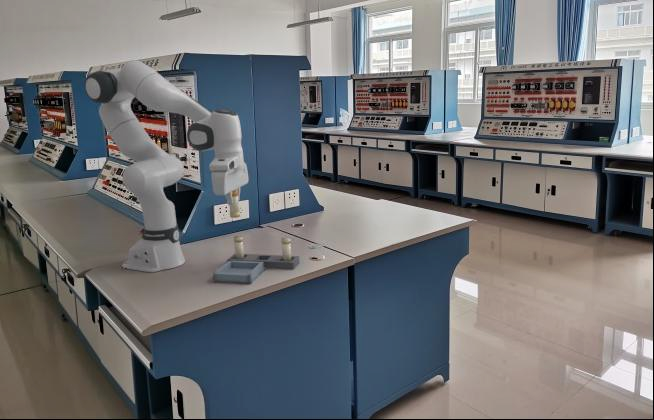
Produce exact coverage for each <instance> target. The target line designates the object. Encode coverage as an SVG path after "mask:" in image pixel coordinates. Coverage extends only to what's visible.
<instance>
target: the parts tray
mask: <svg viewBox="0 0 654 420" xmlns="http://www.w3.org/2000/svg"><path fill="white" fill-rule="evenodd" d="M265 270H266V268H265V266H264V262H252V261H230V260H229V261H228V262H225V263H224V264H223V265H221V267H219V268H218V269H217V270H215V271H214V272H213V273H212V275H213V277H212V278H213V283H221V284H240V285H251V284H253V283H254V282H255V281H256V279H257V278H259V276H261V274H263V273H264V271H265ZM265 272H266V271H265Z"/></svg>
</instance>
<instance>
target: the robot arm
mask: <svg viewBox="0 0 654 420" xmlns="http://www.w3.org/2000/svg"><path fill="white" fill-rule="evenodd" d="M84 90H85V93H86V95H87V97H88V98H89V99H90V100H91V102H94V103H96V104H97V103H98V104H100V106H99V108H98V114H99V117H100V119H101V122H102V124H103V126H104V127H105V129H106V130H105V131H106V132H107V133H108V135H109V136H110V138H111V139H112V141H113V142H114V144H115V145H116V147H117V148H118V150H119V152H120V153H121V154H122V155H123V156H125V157H126V158H129V159H132V160H133V161H134V162H133V163H132V164H131V165H129V166H127V167H126V168H125V169H124V170H123V173H122V176H121V177H122V182H123V185H124V187H125V188H126V189H127V191H129V192H130V193H132V194H133V195H134V196H135V197H136V199H137V201H138V203H139V205H140V209H141V212H142V218H143V224H144V228H142V229H141V230H139V231H138V235H141V234H142V235H141V238H140V239H138V241H137V242H135V243H134V244H133V245H132V246H131V247H130V249H129V250H128V253H127V260H125V261H124V262H123V263H122V267H123V268H122V269H125V268H127V269H128V270H132V271H138V272H139V271H140V272H146V273H155V272H156V273H157V272H159V271H163V270H170V269H174V268H178V267H180V266H182V265H184V263H185V262H186V258H185V256H184V254H183V253H184V252H183V251H182V247H181V243H180V231H179V225H178V223H177V217H176V216H177V215H176V209H175V208H176V207H175V204H174V202H172V200H169V199H168V198H167V197H166V194H165V192H164V188H167V187H169V186H172V185H175V184H176V183H177V182H178V181H180V180H181V179H182V177H183V176H184V165H183V163H182V161H181V160H180V159H179V158H177V157H176V156H173V155H172V154H169V153H168V152H167V151H165V150H164V149H162V147H161V146H159V145H158V144H157V143H156V141H154V140H153V139H152V138H151V136H149V134H148V133H147V131H146V130H145V128H144V127H143V125H142V124H141V123H140V121H139V119H138V118H137V116H136V115H135V114H134V111H133V110H132V107H131V106H132V105H131V104H137V103H138V102H140V103H141V104H142V105H143V106H145V107H147V108H148V109H151V110H152V111H155V112H161V113H162V112H163V113H173V114H179V115H181V116H184V117H187V118H189V119H190V120H191V121H192V122H193V123H191V124H190V125H189V126H188V128H187V131H186V139H187V142H188V144H189V146H190V147H191V148H192V149H193V150H195V151H198V152H207V151H212V150H214V154H215V155H214V158H213V159H212V161H211V162H210V163H209V166H208V167H209V171H212V172H211V174H210V177H211V185H212V191H213V194H214V195H215V196H224V197H225V199H226V202H227V205H228V206H229V205H232V204H234V199H233V198H232V191H233V190H235V189H237V188H238V202H240V194H241V188H242V187H244V186H245V185H247V184H249V173H248V165H247V163H246V162H245V161H244V160H245V159H244V151H243V146H242V137H243V136H242V135H243V134H242V127H241V121H240V118H239V115H238V113H237V112H235V111H233V110H230V109H216V110H213V111H211V110H209V109H208V108H207V107H205V106H204V105H203V104H202V103H200V102H199V101H198V100H196V99H194V98H193V97H191V96H190V95H189V94H187V93H185V92H183V90H181V89H180V88H178V87H177V86H175V85H173V83H170V81H168V80H167V79H166V78H165V77H164V76H162V75H161V74H160V73H159V72H158V71H156V70H155V69H153V68H152V67H150V66H149V65H147V64H146V63H144V62H142V61H140V60H137V59H132V60H129V61H127V62H125V63H124V64H123V65H122V67H115V68H109V69H105V70H104V69H103V70H96V71H94V72H92V73H91V72H90V73H89V74H88V75H87V76H86V77H85V79H84ZM127 269H126V270H127Z"/></svg>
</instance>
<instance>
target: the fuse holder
mask: <svg viewBox="0 0 654 420" xmlns="http://www.w3.org/2000/svg"><path fill="white" fill-rule="evenodd" d="M229 260H230V261H252V262H264V266H265V269H277V270H295V269H296V268H297V267H298V265H299V264H300V255H291V260H292V261H283V254H277V255H276V254H257V253H256V254H255V253H254V254H253V253H244V259H236V256H235V253H233V254H232V255H231V256H230V257H229V258H227V262H228V261H229ZM227 262H226V263H227Z"/></svg>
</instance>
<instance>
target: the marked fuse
mask: <svg viewBox="0 0 654 420" xmlns="http://www.w3.org/2000/svg"><path fill="white" fill-rule="evenodd" d="M232 198H233V199H234V204H232V205H228V206H229V217H230V218H232V219H233V218H240V217H241V211H240V205H239V202H240V201H238V188H237V189H235V190H233V191H232Z"/></svg>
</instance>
